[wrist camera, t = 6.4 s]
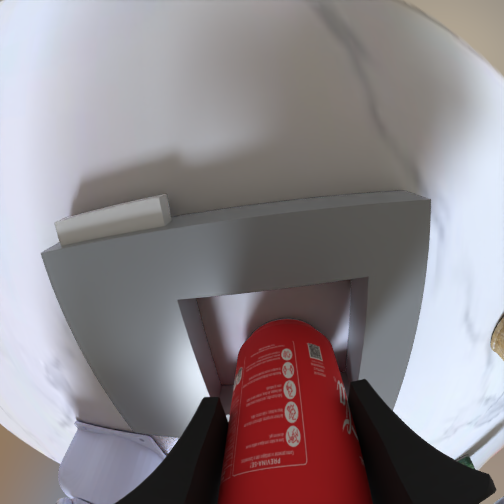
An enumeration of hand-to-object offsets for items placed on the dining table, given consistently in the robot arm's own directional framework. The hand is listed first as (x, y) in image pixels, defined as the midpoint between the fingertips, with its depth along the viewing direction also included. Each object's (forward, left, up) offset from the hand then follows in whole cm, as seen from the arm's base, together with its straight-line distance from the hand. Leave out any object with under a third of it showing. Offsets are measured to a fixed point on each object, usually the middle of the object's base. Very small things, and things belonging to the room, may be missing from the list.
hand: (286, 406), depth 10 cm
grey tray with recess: (-2, 0, -5) cm, 6 cm away
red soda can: (0, -1, -5) cm, 6 cm away
